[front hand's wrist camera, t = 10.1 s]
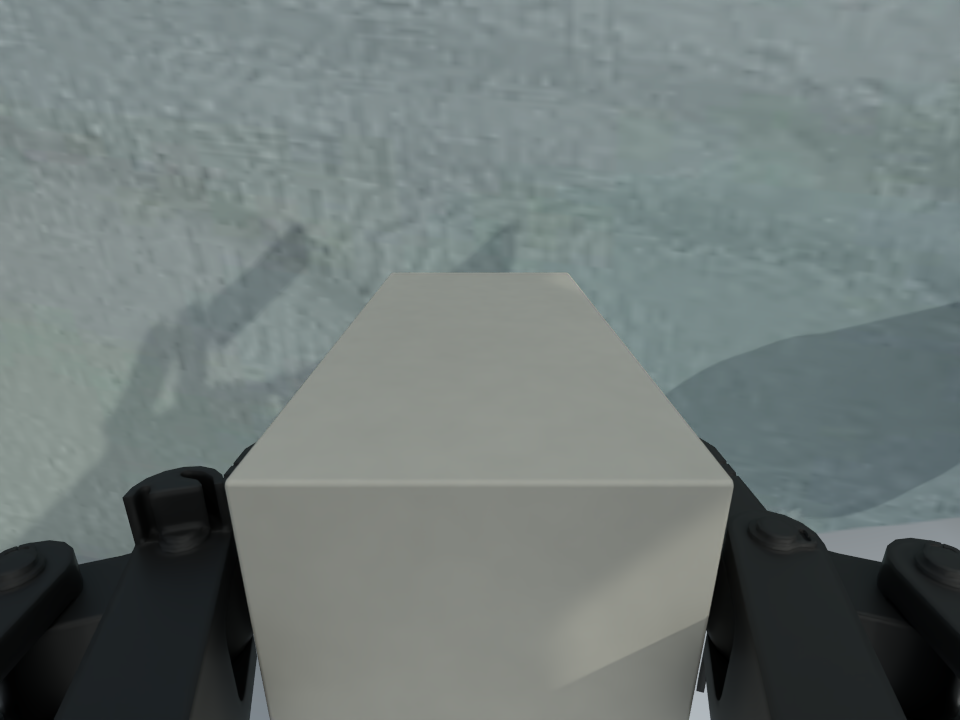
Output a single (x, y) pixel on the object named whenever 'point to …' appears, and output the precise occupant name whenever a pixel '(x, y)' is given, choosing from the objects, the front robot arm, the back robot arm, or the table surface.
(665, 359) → the table surface
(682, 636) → the block
